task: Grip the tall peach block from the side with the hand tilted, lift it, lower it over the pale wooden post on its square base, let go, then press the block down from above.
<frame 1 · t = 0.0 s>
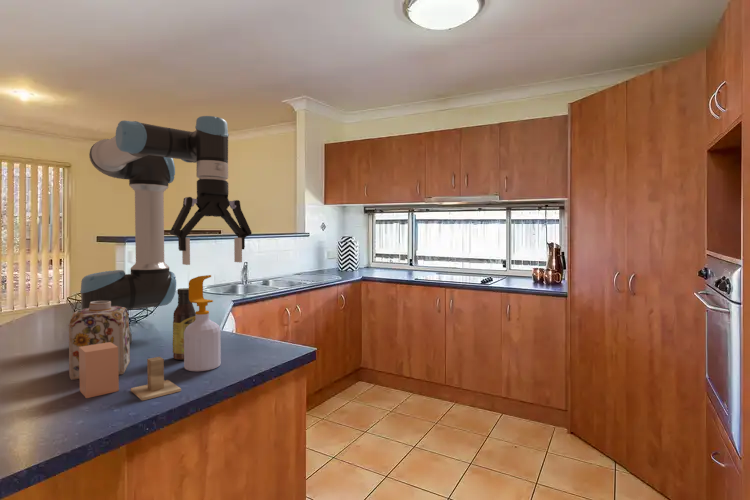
hand: (213, 263, 108), 28 cm above the counter, tool pointing down, fingers open, 13 cm apart
decorative jar: (101, 371, 109), on the counter
peach block: (99, 390, 95), on the counter
post: (155, 390, 95), on the counter
soap bottle: (202, 367, 113), on the counter
sauce bottle: (185, 358, 122), on the counter
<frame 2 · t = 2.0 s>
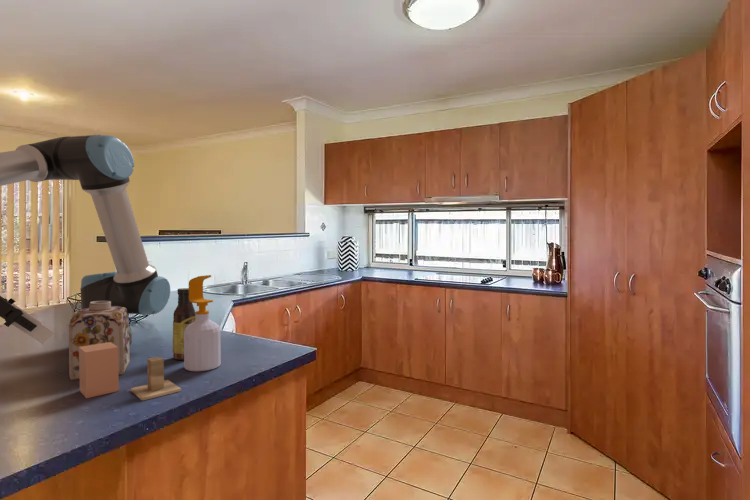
hand: (42, 332, 87), 15 cm above the counter, tool tilted 45°, fingers open, 13 cm apart
nothing on the counter moved.
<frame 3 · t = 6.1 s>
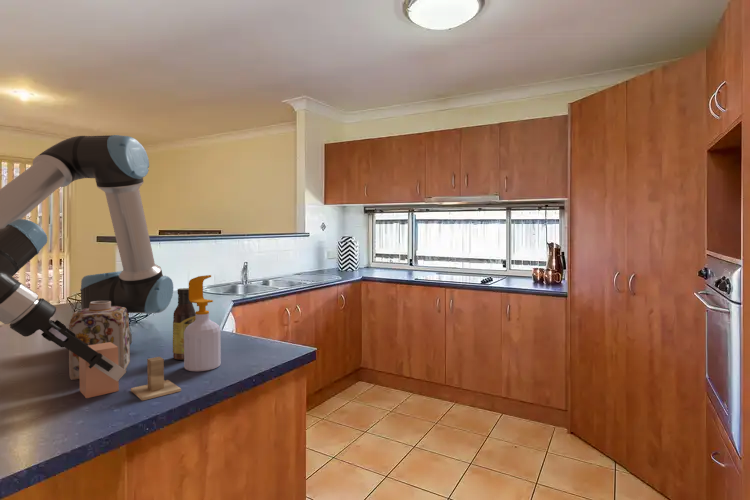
hand: (117, 372, 98), 3 cm above the counter, tool tilted 45°, fingers closed on peach block, 6 cm apart
peach block: (99, 390, 95), on the counter, touching gripper
everything else where it was.
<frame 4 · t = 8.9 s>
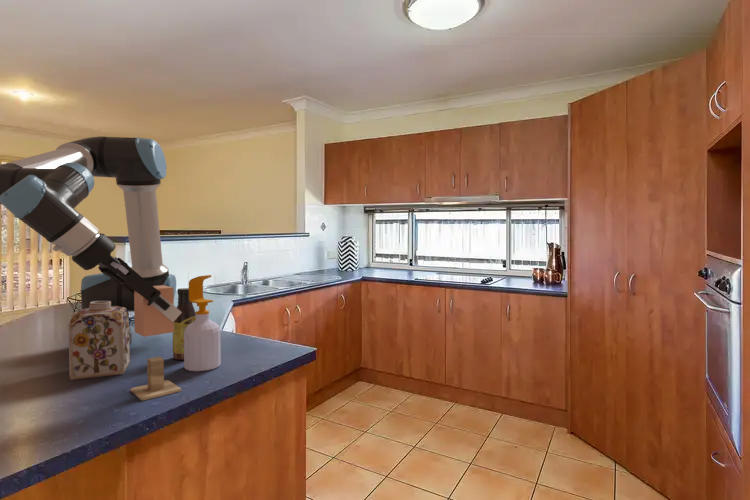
hand: (171, 314, 97), 17 cm above the counter, tool tilted 45°, fingers closed on peach block, 6 cm apart
peach block: (154, 332, 95), point 13 cm above the counter, touching gripper
everything else where it was.
when the fingers open (5 cm above the counter, at t = 11.8 s): peach block stays where it is, resting on post.
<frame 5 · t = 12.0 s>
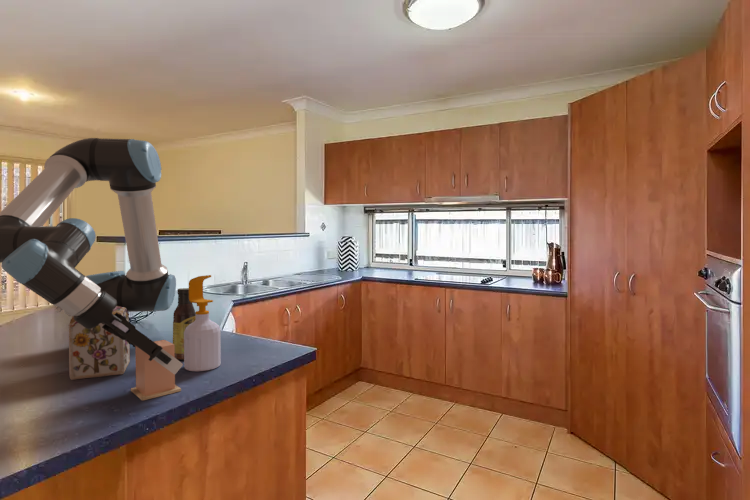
hand: (170, 364, 98), 5 cm above the counter, tool tilted 45°, fingers open, 9 cm apart
peach block: (155, 388, 95), point 1 cm above the counter, touching post
everything else where it was.
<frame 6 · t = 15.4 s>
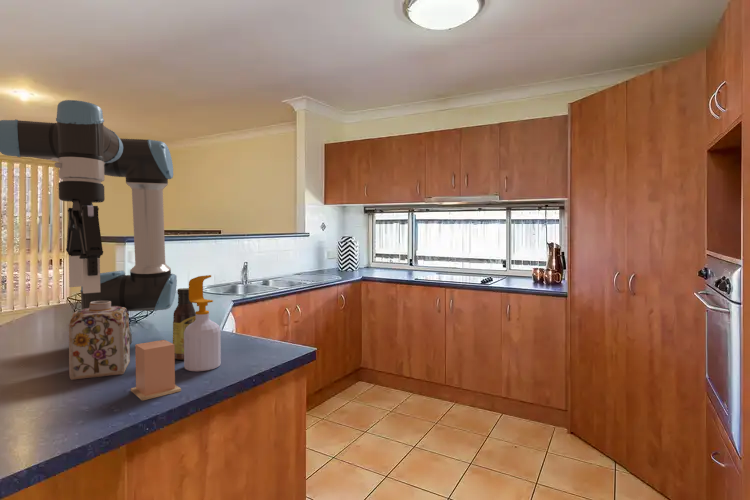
hand: (84, 289, 85), 24 cm above the counter, tool pointing down, fingers open, 12 cm apart
nothing on the counter moved.
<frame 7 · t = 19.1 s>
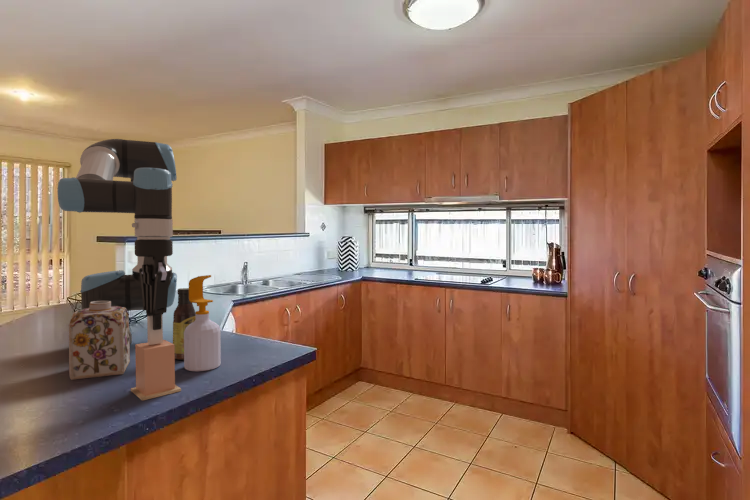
hand: (155, 343, 95), 11 cm above the counter, tool pointing down, fingers closed
peach block: (155, 388, 95), point 1 cm above the counter, touching gripper, post
everything else where it was.
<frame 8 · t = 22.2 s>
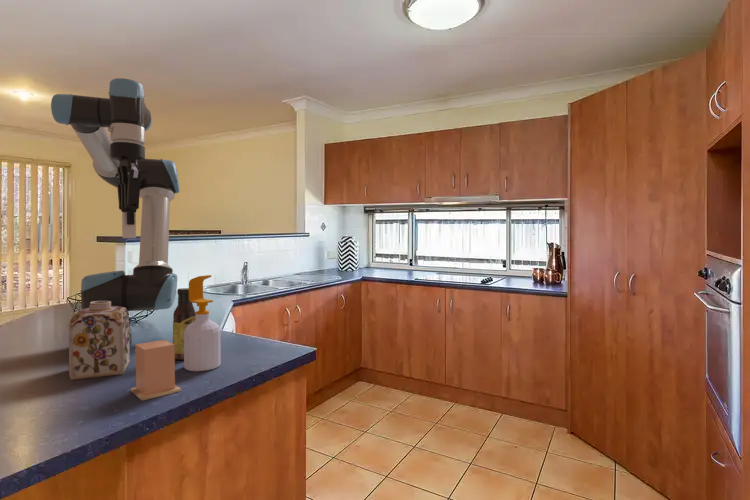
hand: (129, 237, 107), 34 cm above the counter, tool pointing down, fingers closed
peach block: (155, 388, 95), point 1 cm above the counter, touching post
everything else where it was.
at the end: peach block 0.1 cm from the post (horizontally); peach block point 0.6 cm above the counter; the gripper is holding nothing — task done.
